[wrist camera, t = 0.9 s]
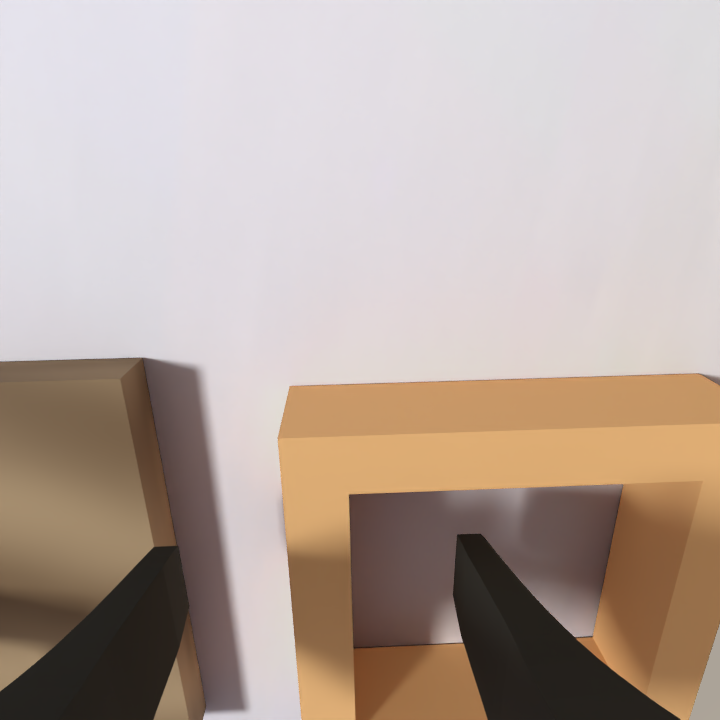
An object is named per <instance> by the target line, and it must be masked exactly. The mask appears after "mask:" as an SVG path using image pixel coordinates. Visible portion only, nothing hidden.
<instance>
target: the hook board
mask: <svg viewBox="0 0 720 720" xmlns="http://www.w3.org/2000/svg"><path fill="white" fill-rule="evenodd" d="M161 546H177V545H176V539H175V534H174V528H173V523H172V517H171V512H170V506H169V501H168V495H167V490H166V484H165V479H164V473H163V468H162V462H161V457H160V451H159V446H158V440H157V435H156V429H155V424H154V418H153V413H152V407H151V402H150V396H149V391H148V386H147V380H146V375H145V369H144V364H143V358H119V359H85V360H50V361H15V362H0V691H1V690H3V689H4V688H5V687H6V686H8V685H9V684H10V683H12V682H13V681H14V680H15V679H16V678H18V677H19V676H20V675H21V674H23V673H24V672H25V671H26V670H27V669H29V668H30V667H31V666H32V665H34V664H35V663H36V662H37V661H38V660H39V659H41V658H42V657H43V656H44V655H45V654H46V653H48V652H49V651H50V650H51V649H52V648H53V647H54V646H55V645H57V644H58V643H59V642H60V641H61V640H62V639H63V638H64V637H65V636H66V635H67V634H68V633H69V632H70V631H71V630H73V629H74V628H75V627H76V626H77V625H78V624H79V623H80V622H81V621H82V620H83V619H84V618H85V617H86V616H87V615H88V614H89V613H90V612H91V611H92V610H93V609H94V608H95V607H96V606H97V605H98V604H99V603H100V602H101V601H102V600H103V599H104V598H105V597H106V596H107V595H108V594H109V593H110V592H111V591H112V590H113V589H114V588H115V587H116V586H117V585H118V584H119V583H120V582H121V581H122V580H123V578H124V577H125V576H126V575H127V574H128V573H129V572H130V571H131V570H132V569H133V568H134V567H135V566H136V565H137V564H138V563H139V562H140V561H141V560H142V558H143V557H144V556H145V555H146V554H147V553H148V552H149V551H150V550H151V549H152V548H153V547H161ZM205 708H206V704H205V698H204V693H203V687H202V682H201V676H200V671H199V665H198V660H197V654H196V649H195V643H194V638H193V632H192V627H191V621H190V616H189V611H188V614H187V618H186V622H185V627H184V631H183V635H182V639H181V643H180V647H179V650H178V653H177V656H176V659H175V662H174V664H173V667H172V670H171V673H170V675H169V678H168V681H167V684H166V687H165V689H164V692H163V695H162V697H161V700H160V703H159V706H158V708H157V711H156V714H155V717H154V719H153V720H203V716H204V712H205Z"/></svg>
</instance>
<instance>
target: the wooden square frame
mask: <svg viewBox="0 0 720 720" xmlns="http://www.w3.org/2000/svg"><path fill="white" fill-rule="evenodd" d="M278 448H279V460H280V471H281V483H282V495H283V507H284V518H285V530H286V542H287V554H288V566H289V577H290V589H291V601H292V613H293V624H294V636H295V648H296V660H297V671H298V683H299V695H300V707H301V719H302V720H488V719H487V716H486V713H485V710H484V706H483V703H482V700H481V697H480V694H479V691H478V687H477V684H476V681H475V678H474V675H473V672H472V669H471V665H470V662H469V659H468V656H467V653H466V649H465V646H464V643H460V644H440V645H419V646H398V647H377V648H356V649H353V620H352V586H351V551H350V517H349V494H371V493H398V492H424V491H450V490H477V489H503V488H529V487H556V486H582V485H608V484H623V489H622V494H621V499H620V504H619V509H618V514H617V519H616V524H615V529H614V534H613V539H612V544H611V548H610V553H609V558H608V563H607V568H606V573H605V578H604V583H603V588H602V593H601V598H600V603H599V608H598V613H597V618H596V623H595V628H594V633H593V637H586V638H576V639H577V640H578V641H579V642H580V643H581V644H582V645H584V646H585V647H586V648H587V649H588V650H589V651H590V652H592V653H593V654H594V655H595V656H596V657H597V658H598V659H600V660H601V661H602V662H603V663H605V664H606V665H607V666H608V667H609V668H611V669H612V670H613V671H614V672H616V673H617V674H618V675H620V676H621V677H622V678H624V679H625V680H626V681H628V682H629V683H630V684H632V685H633V686H634V687H636V688H637V689H638V690H640V691H641V692H642V693H644V694H645V695H646V696H648V697H649V698H650V699H652V700H653V701H655V702H656V703H657V704H659V705H660V706H662V707H663V708H665V709H666V710H668V711H669V712H671V713H672V714H674V715H675V716H677V717H678V718H680V719H681V720H689V717H690V714H691V712H692V708H693V705H694V702H695V699H696V696H697V693H698V690H699V686H700V683H701V680H702V677H703V674H704V671H705V668H706V665H707V661H708V658H709V655H710V652H711V649H712V645H713V643H714V639H715V636H716V633H717V630H718V627H719V624H720V385H718V384H716V383H715V382H713V381H711V380H709V379H707V378H706V377H704V376H702V375H700V374H673V375H640V376H608V377H576V378H543V379H511V380H479V381H446V382H414V383H382V384H349V385H317V386H290V387H289V392H288V396H287V400H286V405H285V409H284V413H283V418H282V422H281V427H280V431H279V435H278Z"/></svg>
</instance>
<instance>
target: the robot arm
mask: <svg viewBox="0 0 720 720" xmlns="http://www.w3.org/2000/svg"><path fill="white" fill-rule="evenodd" d="M453 597H454V602H455V607H456V613H457V618H458V622H459V627H460V632H461V636H462V640H463V643H464V646H465V649H466V653H467V656H468V659H469V662H470V665H471V669H472V672H473V675H474V678H475V681H476V684H477V687H478V691H479V694H480V697H481V700H482V703H483V706H484V710H485V713H486V716H487V719H488V720H681V719H680V718H678V717H677V716H675V715H674V714H672V713H671V712H669V711H668V710H666V709H665V708H663V707H662V706H660V705H659V704H657V703H656V702H655V701H653V700H652V699H650V698H649V697H648V696H646V695H645V694H644V693H642V692H641V691H640V690H638V689H637V688H636V687H634V686H633V685H632V684H630V683H629V682H628V681H626V680H625V679H624V678H622V677H621V676H620V675H618V674H617V673H616V672H614V671H613V670H612V669H611V668H609V667H608V666H607V665H606V664H605V663H603V662H602V661H601V660H600V659H598V658H597V657H596V656H595V655H594V654H593V653H592V652H590V651H589V650H588V649H587V648H586V647H585V646H584V645H582V644H581V643H580V642H579V641H578V640H577V639H576V638H575V637H574V636H573V635H572V634H571V633H569V632H568V631H567V630H566V629H565V628H564V627H563V626H562V625H561V624H560V623H559V622H558V621H557V620H556V619H555V618H554V617H553V616H552V615H551V614H550V613H549V612H548V611H547V610H546V609H545V608H544V607H543V606H542V604H541V603H540V602H539V601H538V600H537V599H536V598H535V597H534V596H533V595H532V594H531V593H530V591H529V590H528V589H527V588H526V587H525V586H524V585H523V584H522V583H521V581H520V580H519V579H518V578H517V577H516V576H515V575H514V573H513V572H512V571H511V570H510V569H509V567H508V566H507V565H506V564H505V563H504V561H503V560H502V559H501V558H500V557H499V555H498V554H497V553H496V552H495V550H494V549H493V548H492V547H491V545H490V544H489V543H488V541H487V540H486V539H485V538H484V537H483V536H482V535H481V534H458V535H457V544H456V559H455V574H454V589H453ZM188 609H189V603H188V598H187V592H186V587H185V582H184V576H183V571H182V565H181V560H180V554H179V549H178V546H161V547H153V548H152V549H151V550H150V551H149V552H148V553H147V554H146V555H145V556H144V557H143V558H142V560H141V561H140V562H139V563H138V564H137V565H136V566H135V567H134V568H133V569H132V570H131V571H130V572H129V573H128V574H127V575H126V576H125V577H124V578H123V580H122V581H121V582H120V583H119V584H118V585H117V586H116V587H115V588H114V589H113V590H112V591H111V592H110V593H109V594H108V595H107V596H106V597H105V598H104V599H103V600H102V601H101V602H100V603H99V604H98V605H97V606H96V607H95V608H94V609H93V610H92V611H91V612H90V613H89V614H88V615H87V616H86V617H85V618H84V619H83V620H82V621H81V622H80V623H79V624H78V625H77V626H76V627H75V628H74V629H73V630H71V631H70V632H69V633H68V634H67V635H66V636H65V637H64V638H63V639H62V640H61V641H60V642H59V643H58V644H57V645H55V646H54V647H53V648H52V649H51V650H50V651H49V652H48V653H46V654H45V655H44V656H43V657H42V658H41V659H39V660H38V661H37V662H36V663H35V664H34V665H32V666H31V667H30V668H29V669H27V670H26V671H25V672H24V673H23V674H21V675H20V676H19V677H18V678H16V679H15V680H14V681H13V682H12V683H10V684H9V685H8V686H6V687H5V688H4V689H3V690H1V691H0V720H153V719H154V717H155V714H156V711H157V708H158V706H159V703H160V700H161V697H162V695H163V692H164V689H165V687H166V684H167V681H168V678H169V675H170V673H171V670H172V667H173V664H174V662H175V659H176V656H177V653H178V650H179V647H180V643H181V639H182V635H183V631H184V627H185V622H186V618H187V614H188Z"/></svg>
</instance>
